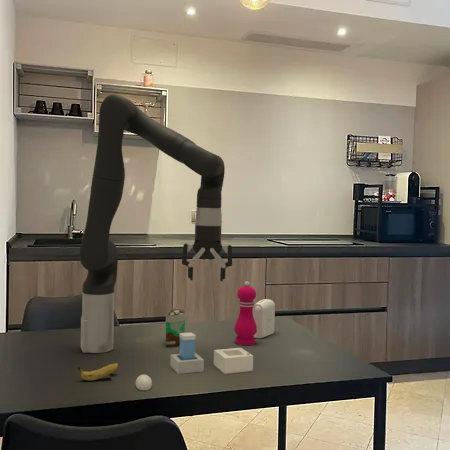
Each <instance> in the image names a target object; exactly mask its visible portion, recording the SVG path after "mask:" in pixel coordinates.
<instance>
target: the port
mask: <svg viewBox="0 0 450 450" xmlns="http://www.w3.org/2000/svg"><path fill="white" fill-rule="evenodd" d="M213 366H215V367H216V368H217V369H218V370H219V371H221V373H223V374H224V375H226V374H236V373H246V372H253V371H254V355H253V354H251V352H249V351H246V350H245V349H243V348H242V347H233V348H222V349H221V348H220V349H214V350H213Z"/></svg>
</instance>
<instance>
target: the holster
mask: <svg viewBox="0 0 450 450" xmlns="http://www.w3.org/2000/svg"><path fill="white" fill-rule="evenodd" d="M179 356H180V353H175V354H170V360H169V361H170V362H169V363H170V367H171V369H172V370H173V371H174V372H175V373H177V375H182V374H191V373H192V374H193V373H200V372H201V373H202V372H205V370H204V369H205V359H204V358H202V357H201V356H200V355H199V354H198V353H197V352H195V359H192V360H180V359H179Z"/></svg>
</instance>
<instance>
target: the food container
mask: <svg viewBox="0 0 450 450" xmlns="http://www.w3.org/2000/svg"><path fill="white" fill-rule="evenodd" d="M186 320H188V313H187V311H186V309H182V308H177V307H176V308H175V307H174V308H173V307H170V312H169V313H168V315H167V314H166V315H165V348H166V347H167V348H173V347H180V333H185V328H186Z"/></svg>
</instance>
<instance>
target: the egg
mask: <svg viewBox="0 0 450 450" xmlns="http://www.w3.org/2000/svg"><path fill="white" fill-rule="evenodd" d="M152 386H153V381H152V378H151V377H150V376H149V375H147V374H140V375H139V376H138V377H137V378H136V380H135V388H136V389H137V390H139V391H144V392H145V391H149V390H150V389H151V388H152Z"/></svg>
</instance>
